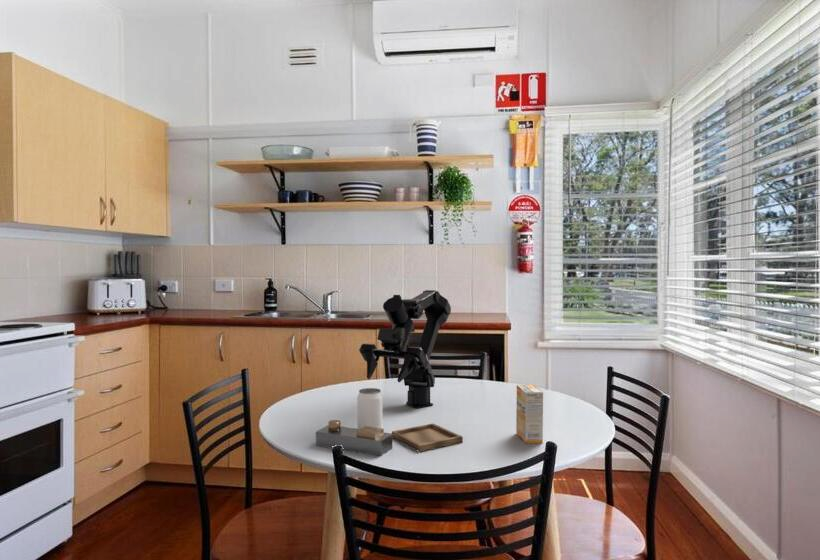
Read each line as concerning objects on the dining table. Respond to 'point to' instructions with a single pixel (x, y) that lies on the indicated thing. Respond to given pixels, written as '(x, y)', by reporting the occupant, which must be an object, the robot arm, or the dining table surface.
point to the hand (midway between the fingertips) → (383, 379)
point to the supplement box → (529, 414)
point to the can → (369, 408)
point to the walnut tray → (426, 437)
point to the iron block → (354, 438)
